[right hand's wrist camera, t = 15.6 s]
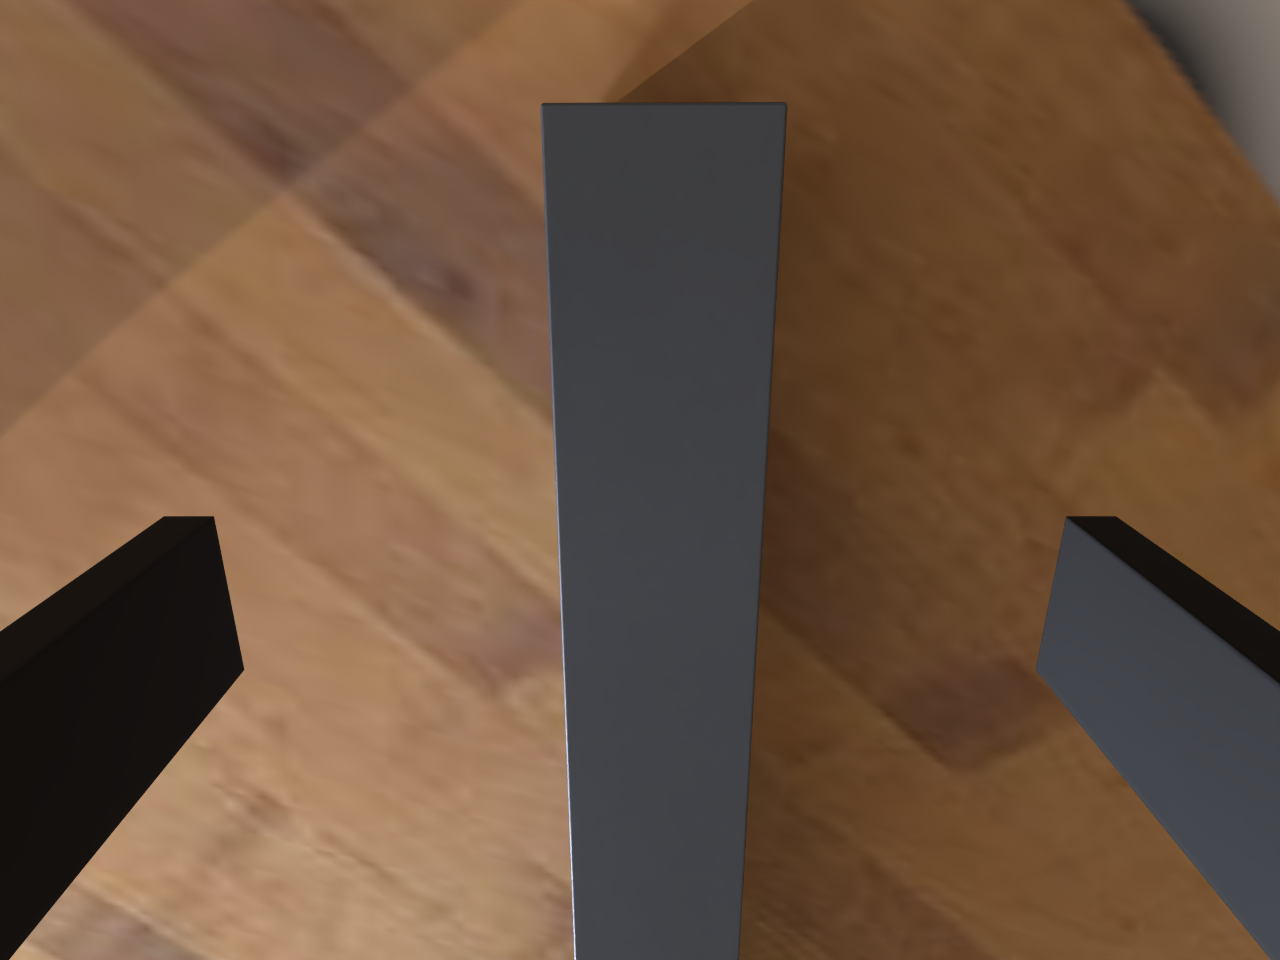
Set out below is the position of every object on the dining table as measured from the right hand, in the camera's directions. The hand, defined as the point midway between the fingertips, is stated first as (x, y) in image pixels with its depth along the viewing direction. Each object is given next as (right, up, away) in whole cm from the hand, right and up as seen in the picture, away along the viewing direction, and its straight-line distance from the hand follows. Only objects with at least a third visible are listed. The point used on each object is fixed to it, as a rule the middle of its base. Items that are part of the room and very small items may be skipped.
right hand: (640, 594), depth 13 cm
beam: (+1, -13, +21) cm, 25 cm away
